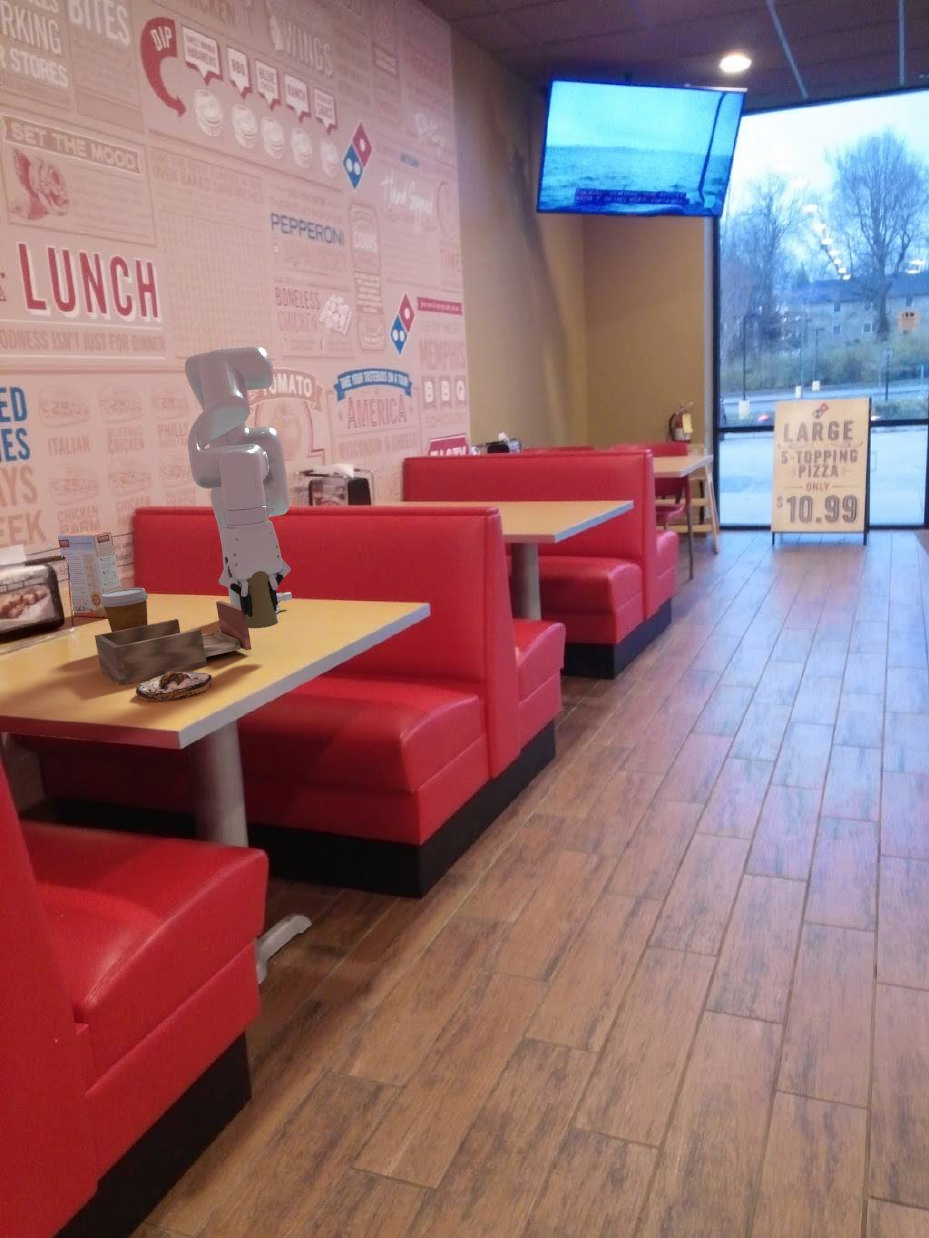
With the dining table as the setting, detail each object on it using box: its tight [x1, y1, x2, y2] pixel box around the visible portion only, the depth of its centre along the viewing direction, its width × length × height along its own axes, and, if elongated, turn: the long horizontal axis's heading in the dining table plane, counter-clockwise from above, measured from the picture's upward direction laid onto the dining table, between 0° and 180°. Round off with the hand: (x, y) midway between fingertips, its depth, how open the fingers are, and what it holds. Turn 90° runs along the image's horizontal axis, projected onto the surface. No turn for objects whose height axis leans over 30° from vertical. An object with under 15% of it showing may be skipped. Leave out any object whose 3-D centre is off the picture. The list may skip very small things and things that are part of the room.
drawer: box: [202, 600, 252, 658], centre depth 191 cm, size 16×14×8 cm
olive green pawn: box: [246, 571, 279, 629], centre depth 184 cm, size 6×6×11 cm
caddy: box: [94, 618, 208, 686], centre depth 186 cm, size 16×15×7 cm
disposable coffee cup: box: [100, 587, 149, 632], centre depth 205 cm, size 10×10×12 cm
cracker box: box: [57, 531, 122, 619], centre depth 245 cm, size 14×6×21 cm, turn 58°
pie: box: [135, 671, 213, 703], centre depth 169 cm, size 15×15×4 cm
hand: (260, 611), depth 185 cm, fingers closed on olive green pawn, 4 cm apart
